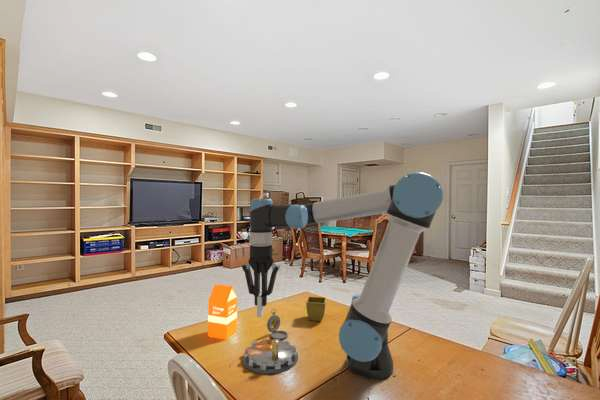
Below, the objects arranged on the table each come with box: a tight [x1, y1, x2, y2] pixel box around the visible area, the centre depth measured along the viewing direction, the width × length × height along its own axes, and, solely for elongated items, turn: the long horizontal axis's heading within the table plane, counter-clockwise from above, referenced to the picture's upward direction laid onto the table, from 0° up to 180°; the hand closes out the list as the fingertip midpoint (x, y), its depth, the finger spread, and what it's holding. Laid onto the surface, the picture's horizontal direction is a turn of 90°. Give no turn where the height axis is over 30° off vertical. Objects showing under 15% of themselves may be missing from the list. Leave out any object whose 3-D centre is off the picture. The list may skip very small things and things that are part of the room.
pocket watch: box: [266, 308, 289, 341], centre depth 117 cm, size 8×8×10 cm
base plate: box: [242, 353, 299, 375], centre depth 99 cm, size 19×19×1 cm
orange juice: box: [207, 283, 238, 341], centre depth 118 cm, size 8×9×20 cm
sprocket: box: [243, 338, 298, 370], centre depth 100 cm, size 18×18×8 cm
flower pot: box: [305, 296, 327, 322], centre depth 134 cm, size 9×9×9 cm
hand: (260, 315), depth 96 cm, fingers closed
